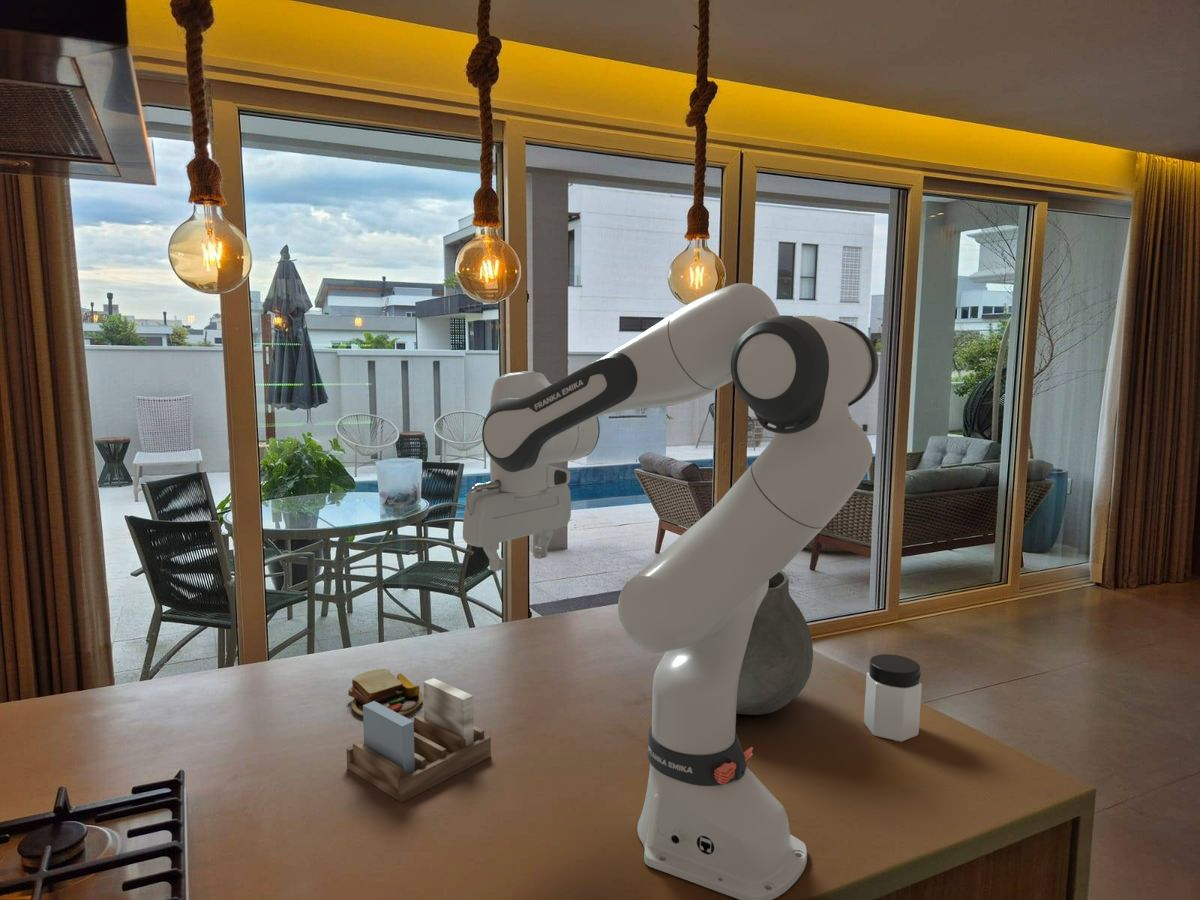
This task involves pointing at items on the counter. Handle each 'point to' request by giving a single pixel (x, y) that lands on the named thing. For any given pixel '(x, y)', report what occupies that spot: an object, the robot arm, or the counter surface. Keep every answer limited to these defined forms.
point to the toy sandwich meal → (384, 692)
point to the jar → (893, 697)
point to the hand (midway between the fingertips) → (519, 563)
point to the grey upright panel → (389, 735)
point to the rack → (428, 745)
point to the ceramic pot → (775, 653)
